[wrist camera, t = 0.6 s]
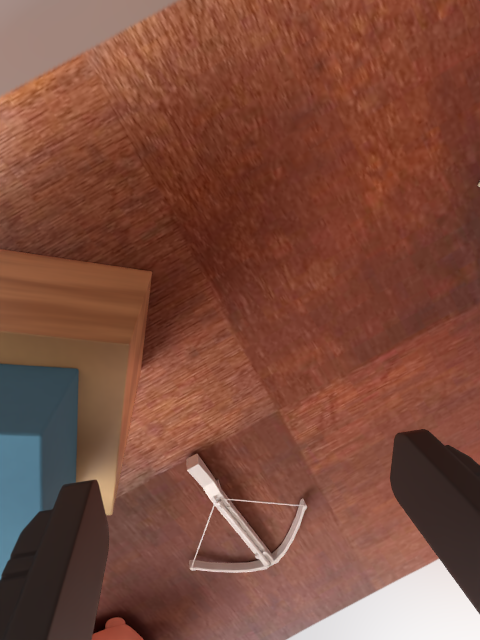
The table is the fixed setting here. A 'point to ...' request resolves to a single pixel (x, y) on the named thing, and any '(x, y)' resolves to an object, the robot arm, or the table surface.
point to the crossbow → (238, 525)
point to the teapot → (116, 631)
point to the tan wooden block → (81, 345)
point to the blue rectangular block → (34, 444)
